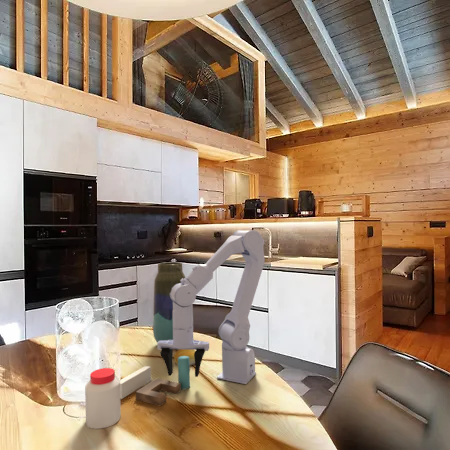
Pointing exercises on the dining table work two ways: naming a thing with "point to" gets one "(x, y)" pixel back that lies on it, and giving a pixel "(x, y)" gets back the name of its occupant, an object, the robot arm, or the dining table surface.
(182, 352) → the bread roll
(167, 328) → the vase
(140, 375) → the board
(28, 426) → the dining table surface
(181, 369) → the dowel
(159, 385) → the block
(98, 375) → the pill bottle
